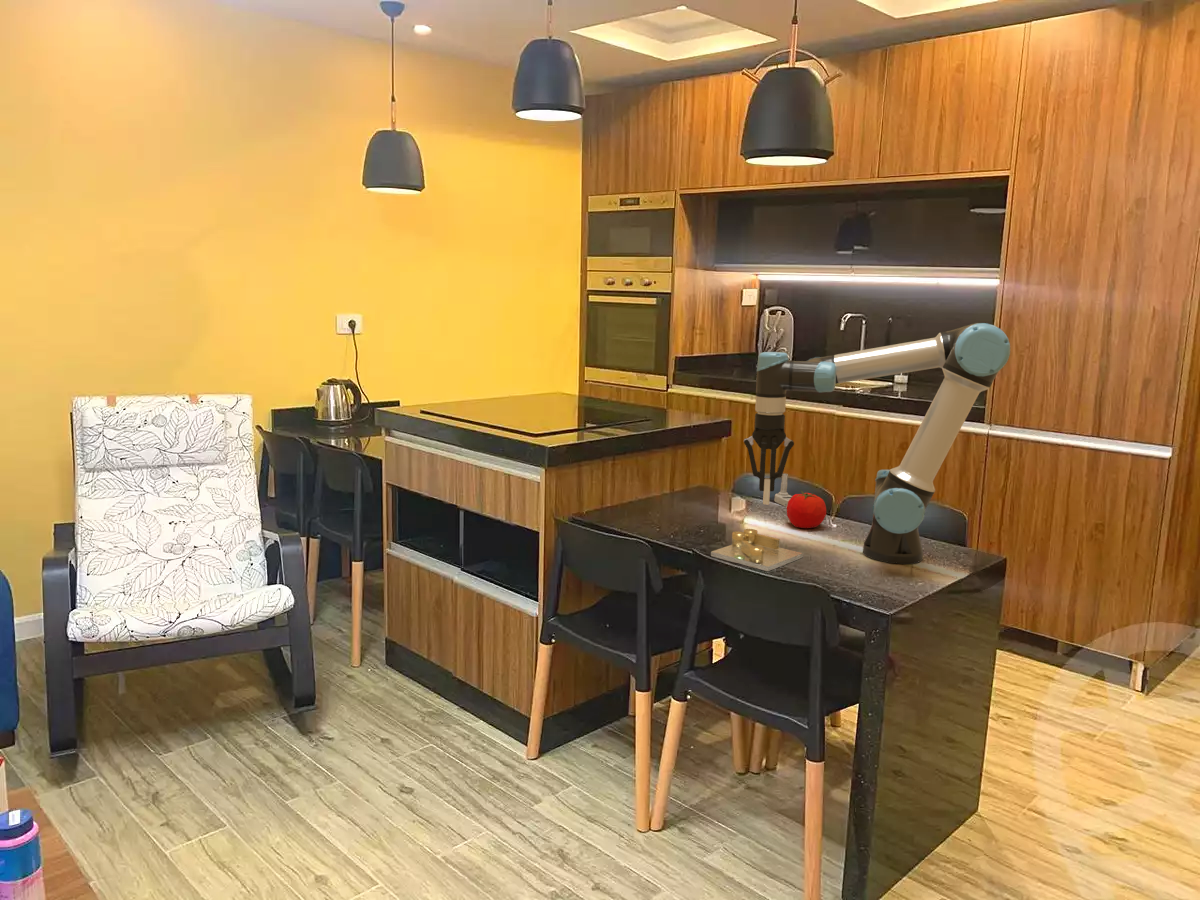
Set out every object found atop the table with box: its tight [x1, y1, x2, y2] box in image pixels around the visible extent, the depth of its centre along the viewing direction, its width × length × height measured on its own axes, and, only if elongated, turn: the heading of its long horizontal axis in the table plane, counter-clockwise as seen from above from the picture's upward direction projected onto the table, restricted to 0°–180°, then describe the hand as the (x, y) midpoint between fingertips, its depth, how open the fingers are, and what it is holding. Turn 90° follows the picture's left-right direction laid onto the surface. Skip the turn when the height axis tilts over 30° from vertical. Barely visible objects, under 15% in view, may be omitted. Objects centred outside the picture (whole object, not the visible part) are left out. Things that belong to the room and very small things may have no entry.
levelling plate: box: [710, 530, 804, 572], centre depth 231 cm, size 17×17×4 cm
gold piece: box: [741, 541, 764, 563], centre depth 226 cm, size 10×4×3 cm, turn 13°
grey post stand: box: [773, 473, 793, 508], centre depth 288 cm, size 5×10×15 cm
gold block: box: [743, 528, 780, 549], centre depth 237 cm, size 10×4×3 cm, turn 48°
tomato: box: [786, 490, 827, 529], centre depth 263 cm, size 12×12×10 cm
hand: (766, 503), depth 231 cm, fingers closed
